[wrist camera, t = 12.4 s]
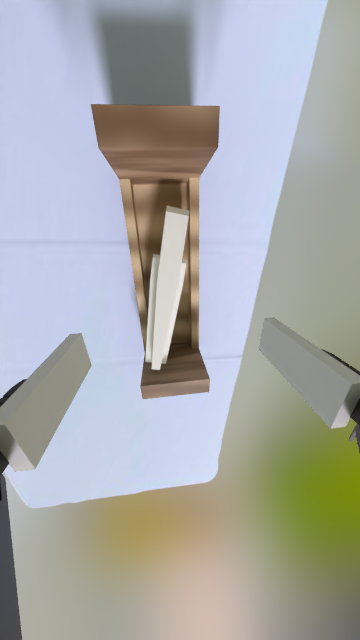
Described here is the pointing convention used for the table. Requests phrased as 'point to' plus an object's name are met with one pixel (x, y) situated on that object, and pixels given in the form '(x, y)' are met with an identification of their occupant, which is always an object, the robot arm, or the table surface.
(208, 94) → the table surface
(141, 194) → the cradle
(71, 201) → the table surface
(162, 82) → the table surface
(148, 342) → the shelf bracket
